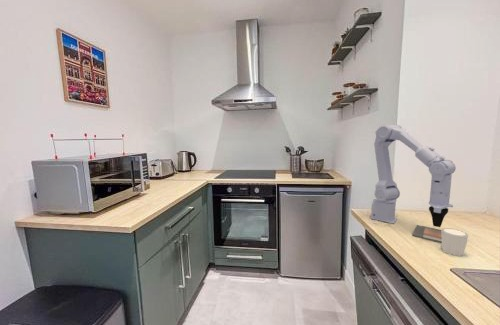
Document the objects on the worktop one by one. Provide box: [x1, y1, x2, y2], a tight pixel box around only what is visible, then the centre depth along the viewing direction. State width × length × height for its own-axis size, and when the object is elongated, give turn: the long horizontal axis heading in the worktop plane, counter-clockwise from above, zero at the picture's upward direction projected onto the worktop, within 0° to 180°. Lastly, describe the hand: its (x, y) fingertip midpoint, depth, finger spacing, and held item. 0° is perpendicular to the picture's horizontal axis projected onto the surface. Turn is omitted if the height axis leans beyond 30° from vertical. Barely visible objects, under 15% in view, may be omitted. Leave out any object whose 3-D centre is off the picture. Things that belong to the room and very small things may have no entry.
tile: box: [423, 228, 442, 241], centre depth 87 cm, size 7×2×6 cm
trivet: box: [411, 224, 442, 244], centre depth 89 cm, size 13×13×1 cm
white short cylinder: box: [440, 227, 469, 257], centre depth 77 cm, size 7×7×7 cm
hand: (436, 226), depth 88 cm, fingers closed
